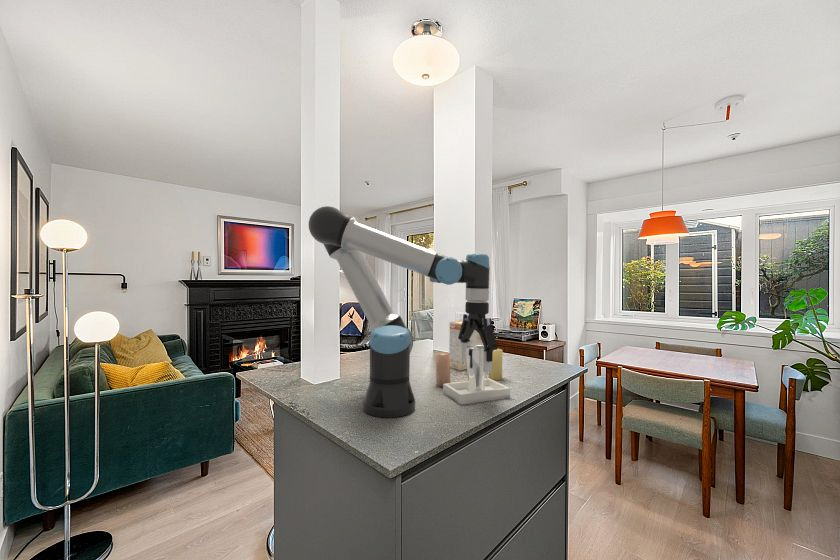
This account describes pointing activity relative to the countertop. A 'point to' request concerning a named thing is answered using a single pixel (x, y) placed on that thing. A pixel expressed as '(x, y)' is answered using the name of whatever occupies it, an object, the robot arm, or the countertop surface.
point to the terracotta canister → (442, 368)
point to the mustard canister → (496, 365)
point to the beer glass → (475, 368)
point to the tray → (462, 397)
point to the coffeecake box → (460, 345)
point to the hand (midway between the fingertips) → (475, 366)
